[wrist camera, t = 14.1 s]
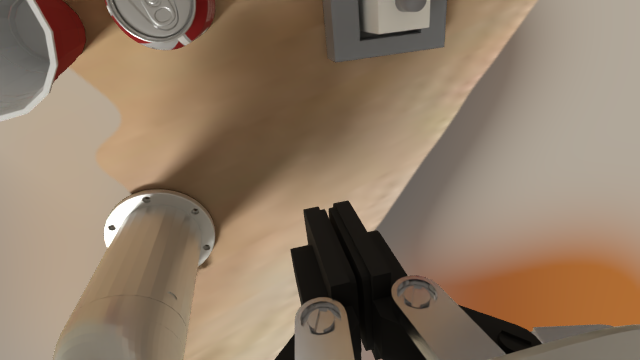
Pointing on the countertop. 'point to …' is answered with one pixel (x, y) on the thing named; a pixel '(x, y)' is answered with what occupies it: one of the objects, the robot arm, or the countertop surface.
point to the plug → (393, 15)
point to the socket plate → (357, 44)
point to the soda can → (162, 20)
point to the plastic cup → (35, 51)
